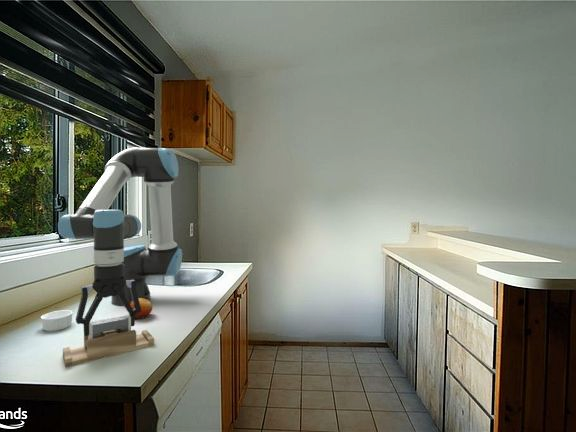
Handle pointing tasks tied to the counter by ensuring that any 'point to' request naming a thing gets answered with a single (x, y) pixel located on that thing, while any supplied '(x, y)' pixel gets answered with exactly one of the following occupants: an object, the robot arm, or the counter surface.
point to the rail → (107, 346)
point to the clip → (110, 325)
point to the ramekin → (56, 320)
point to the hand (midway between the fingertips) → (110, 341)
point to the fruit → (143, 308)
